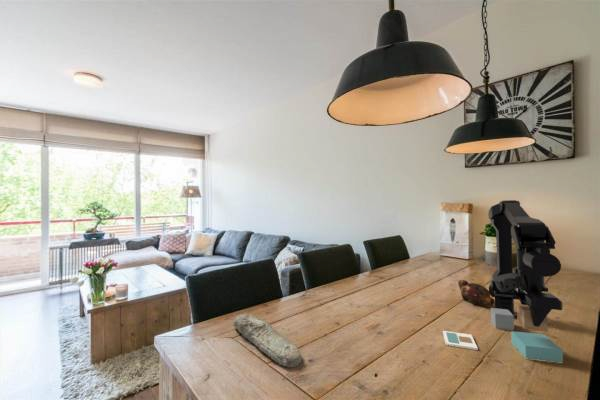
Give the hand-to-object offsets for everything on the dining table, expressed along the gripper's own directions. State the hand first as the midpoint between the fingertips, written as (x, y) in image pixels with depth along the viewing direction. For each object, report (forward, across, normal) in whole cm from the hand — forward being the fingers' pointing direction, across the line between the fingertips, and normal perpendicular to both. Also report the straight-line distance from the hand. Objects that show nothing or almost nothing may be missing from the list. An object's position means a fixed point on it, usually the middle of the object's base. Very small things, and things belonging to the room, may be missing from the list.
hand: (531, 321), depth 74 cm
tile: (+8, 0, -18) cm, 20 cm away
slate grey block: (+9, -15, -3) cm, 17 cm away
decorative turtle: (+9, -36, -6) cm, 37 cm away
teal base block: (+9, 0, 0) cm, 9 cm away
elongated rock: (+9, +20, -75) cm, 78 cm away
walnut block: (+1, 0, 0) cm, 1 cm away
